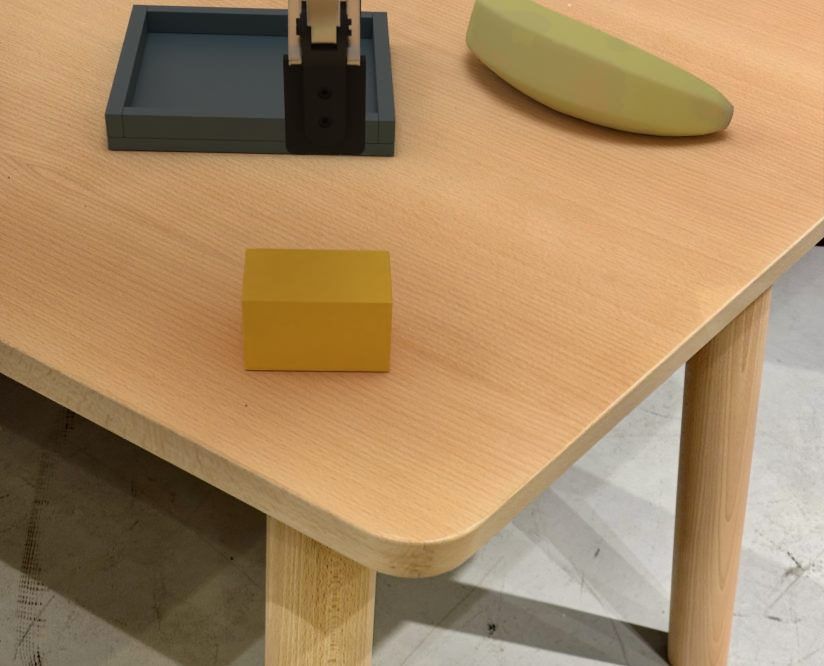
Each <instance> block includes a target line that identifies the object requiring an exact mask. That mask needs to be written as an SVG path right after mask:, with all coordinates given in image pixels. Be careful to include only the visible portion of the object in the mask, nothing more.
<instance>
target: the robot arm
mask: <svg viewBox="0 0 824 666" xmlns="http://www.w3.org/2000/svg"><path fill="white" fill-rule="evenodd" d="M287 9H288V54H283V77H284V109H285V140H286V149H287V151H288V152H289V153H290V155H292V156H348V157H349V156H353V157H354V156H361V155H360V154H362V153H363V152H364V150H365V120H366V55H360V48H361V11H362V0H287ZM302 53H303V55H302ZM346 54H347V55H346Z"/></svg>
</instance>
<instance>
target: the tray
mask: <svg viewBox="0 0 824 666" xmlns="http://www.w3.org/2000/svg"><path fill="white" fill-rule="evenodd" d="M388 18H389V17H388V12H387V11H371V10H369V11H368V10H367V11H364V10H361V48H360V55H366V120H365V150H364V152H363V153H362V154H360V155H359V156H372V157H373V156H374V157H375V156H377V157H378V156H380V157H381V156H382V157H394V156H395V147H396V146H395V145H396V144H395V143H396V122H397V120H396V109H395V97H394V96H395V95H394V84H393V71H392V59H391V58H392V57H391V45H390V31H389V19H388ZM283 54H288V8H267V7H266V8H264V7H262V8H261V7H230V6H229V7H227V6H199V5H198V6H197V5H196V6H195V5H159V4H133V5H132V8H131V11H130V15H129V19H128V23H127V26H126V31H125V35H124V39H123V42H122V47H121V50H120V54H119V57H118V61H117V65H116V68H115V73H114V77H113V80H112V86H111V88H110V92H109V96H108V101H107V102H106V103H107V104H106V107H105V111H104V121H105V131H106V141H107V149H108V150H109V151H150V152H151V151H153V152H154V151H157V152H195V153H196V152H198V153H201V152H202V153H238V154H239V153H246V154H285V155H286V154H290V153H289V152H288V151H287V149H286V140H285V109H284V77H283ZM302 55H303V53H302ZM346 55H347V54H346ZM290 155H291V154H290Z"/></svg>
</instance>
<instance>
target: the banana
mask: <svg viewBox="0 0 824 666" xmlns="http://www.w3.org/2000/svg"><path fill="white" fill-rule="evenodd" d="M465 44H466V47H467V49H468V50H469V51H470V52H471V53H472V54H473V55H474V56H475V57H476V58H477V59H478V60H479V61H480V62H482V64H483V65H485V66H486V67H487V68H489V69H490V71H492V73H494V74H496V75H497V76H498V77H499V78H500V79H502V80H503V81H504V82H506V83H507V84H509V85H510V86H511V87H513V88H514V89H517V90H518V91H519V92H521V93H522V94H524V95H526V96H528V97H529V98H531V99H532V100H534V101H537V102H538V103H540V104H542V105H543V106H546V107H548V108H550V109H552V110H554V111H557V112H559V113H561V114H564V115H566V116H567V115H568V116H570V117H573V118H576V119H579V120H582V121H585V122H589V123H591V124H595V125H599V126H601V127H604V128H605V127H606V128H608V129H609V128H610V129H614V130H617V131H622V132H627V133H632V134H640V135H649V136H656V137H657V136H658V137H693V136H694V137H695V136H704V135H705V136H706V135H708V134H713V133H716V132H720V131H722V130H724V131H725V130H726V129H728V127H729V126H730V124H731V122H732V119H733V117H734V111H735V108H734V105H733V104H732V103H731V102H730V100H729V99H728V98H727V97H726V96H725V95H724V94H723V93H722V92H721V91H720V90H718V89H717V88H716V87H714V86H713V85H711V84H710V83H708V82H706V81H705V80H703V79H701V78H699V76H697V75H694V74H693V73H691V72H689V71H687V70H685V69H684V68H681V67H679V66H678V65H675V64H673V63H671V62H669V61H667V60H665V59H663V58H661V57H659V56H657V55H655V54H652V53H650V52H649V51H646V50H645V49H642V48H640V47H638V46H636V45H634V44H632V43H630V42H628V41H625V40H623V39H621V38H618V37H617V36H614V35H612V34H609V33H607V32H606V31H603V30H601V29H599V28H596V27H594V26H592V25H589V24H587V23H584V22H582V21H580V20H577V19H575V18H572V17H569V16H567V15H565V14H563V13H559V12H557V11H554V10H553V9H550V8H548V7H546V6H543V5H541V4H539V3H537V2H536V1H533V0H475V1H474V4H473V7H472V10H471V13H470V18H469V21H468V24H467V29H466V34H465Z"/></svg>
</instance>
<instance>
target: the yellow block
mask: <svg viewBox="0 0 824 666" xmlns="http://www.w3.org/2000/svg"><path fill="white" fill-rule="evenodd" d="M242 278H243V279H242V289H241V302H240V303H241V321H242V322H241V323H242V324H241V325H242V343H243V344H242V346H243V370H245V371H292V372H293V371H297V372H298V371H299V372H300V371H301V372H303V371H304V372H305V371H306V372H377V373H378V372H382V373H384V372H385V373H386V372H387V373H389V372H390V369H391V368H390V365H391V344H392V325H393V323H392V322H393V321H392V320H393V290H392V289H393V288H392V273H391V255H390V251H389V250H374V249H373V250H370V249H369V250H368V249H366V250H365V249H315V248H313V249H310V248H308V249H307V248H259V247H257V248H256V247H255V248H254V247H247V248H245V255H244V266H243V277H242Z"/></svg>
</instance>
